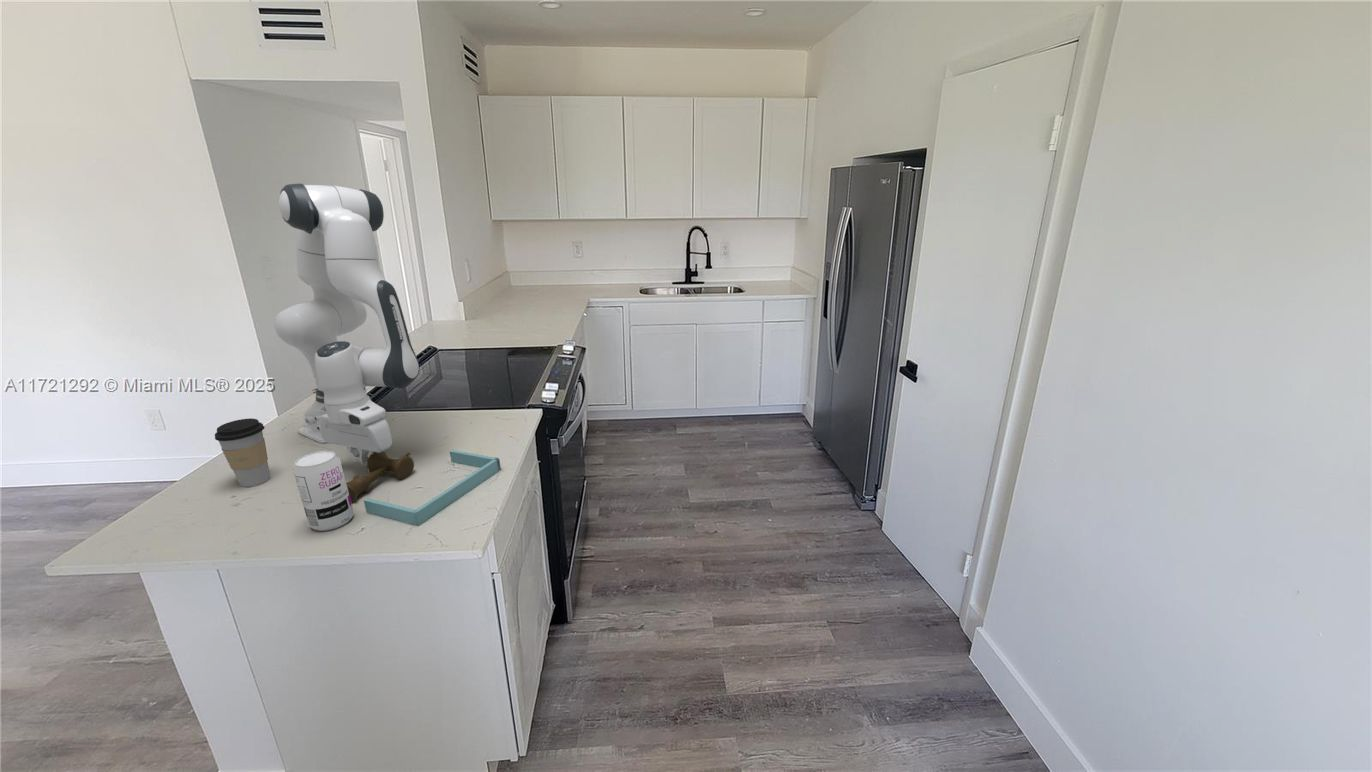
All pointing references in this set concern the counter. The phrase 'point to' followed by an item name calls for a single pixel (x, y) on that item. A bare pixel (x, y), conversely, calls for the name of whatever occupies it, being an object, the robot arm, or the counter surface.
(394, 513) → the open rectangular frame
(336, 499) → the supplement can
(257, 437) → the coffee cup
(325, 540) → the counter surface
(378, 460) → the kendama
